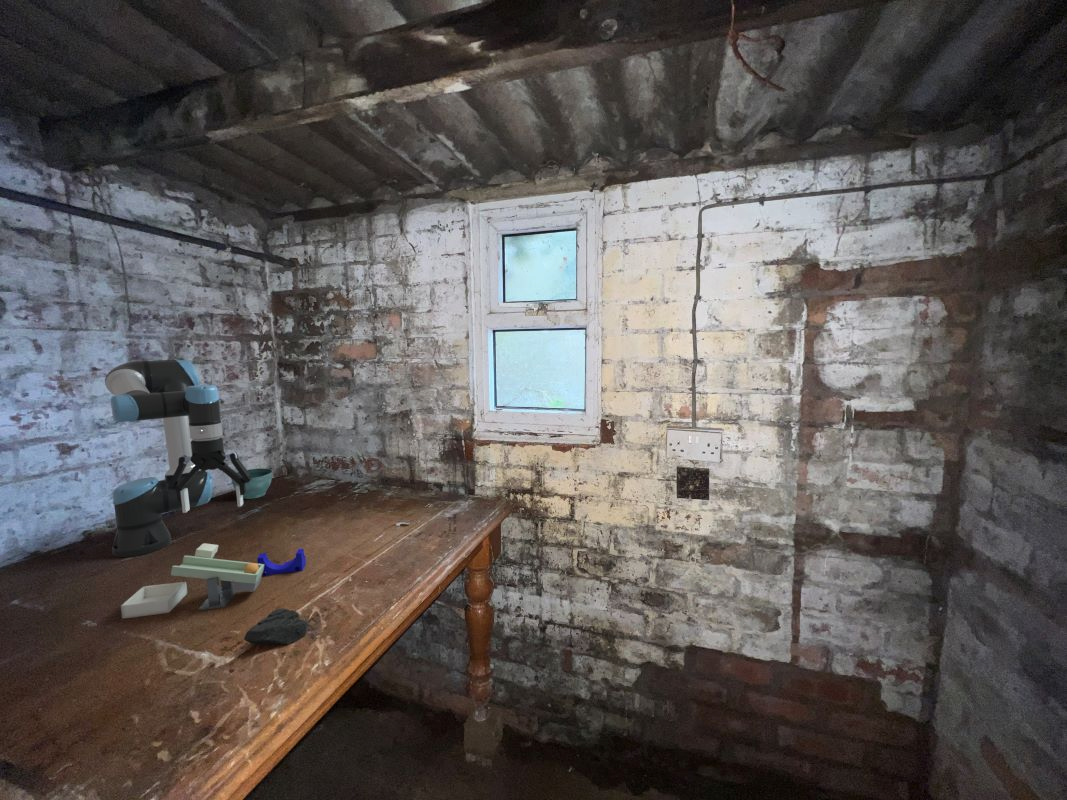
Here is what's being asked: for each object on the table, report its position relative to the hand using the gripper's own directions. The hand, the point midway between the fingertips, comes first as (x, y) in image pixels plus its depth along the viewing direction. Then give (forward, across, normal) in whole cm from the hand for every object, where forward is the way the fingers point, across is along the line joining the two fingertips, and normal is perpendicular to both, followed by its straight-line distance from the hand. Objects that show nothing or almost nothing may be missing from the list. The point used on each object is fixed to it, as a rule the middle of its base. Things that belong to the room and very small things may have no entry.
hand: (213, 508), depth 128 cm
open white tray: (+22, -11, -12) cm, 27 cm away
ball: (+14, +12, -14) cm, 23 cm away
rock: (+22, +23, -37) cm, 49 cm away
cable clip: (+22, +17, -2) cm, 28 cm away
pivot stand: (+22, +4, -13) cm, 25 cm away
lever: (+17, +4, -9) cm, 20 cm away
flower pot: (+21, -10, +78) cm, 81 cm away
